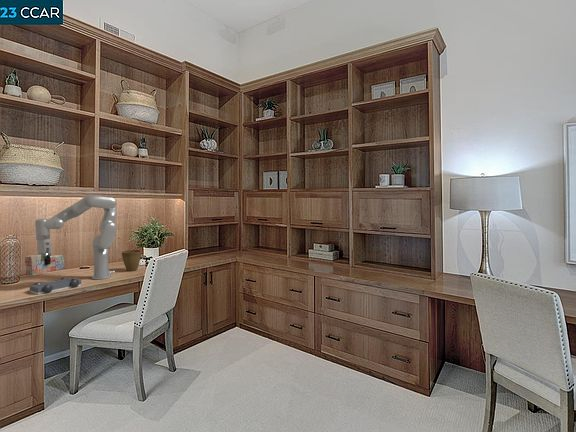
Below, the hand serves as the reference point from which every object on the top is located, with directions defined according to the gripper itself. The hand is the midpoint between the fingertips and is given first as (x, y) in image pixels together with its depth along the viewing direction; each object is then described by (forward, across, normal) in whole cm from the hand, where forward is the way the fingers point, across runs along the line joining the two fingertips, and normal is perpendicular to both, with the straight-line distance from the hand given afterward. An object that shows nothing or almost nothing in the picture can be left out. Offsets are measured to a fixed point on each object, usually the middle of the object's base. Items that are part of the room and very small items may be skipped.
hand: (44, 263), depth 227 cm
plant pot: (+17, -5, -61) cm, 63 cm away
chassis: (+15, -15, +1) cm, 21 cm away
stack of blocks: (+6, 0, -1) cm, 6 cm away
